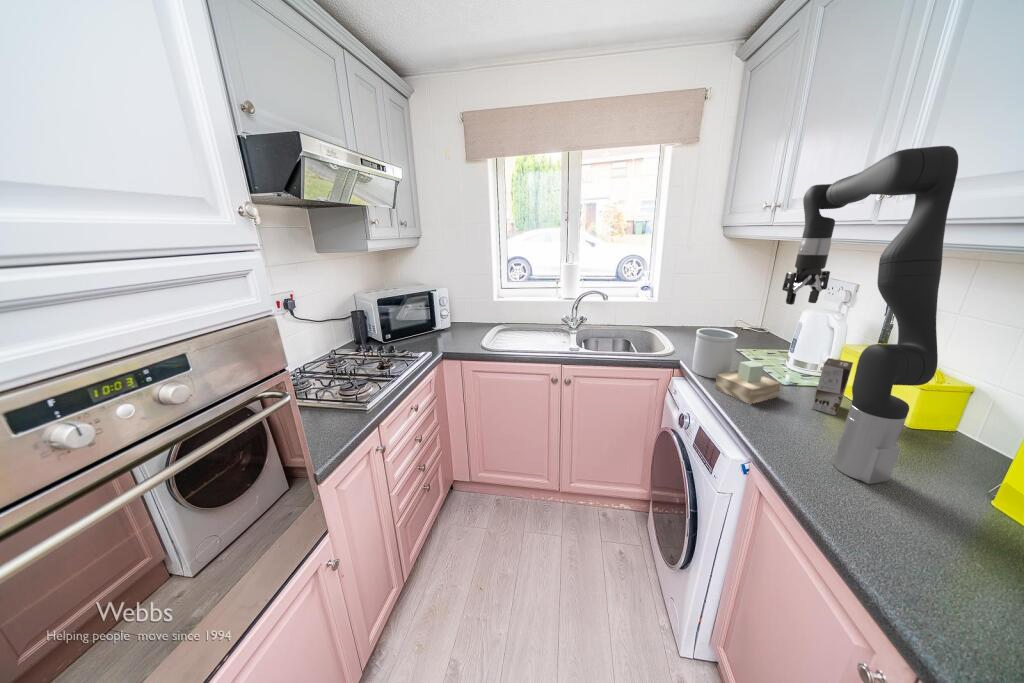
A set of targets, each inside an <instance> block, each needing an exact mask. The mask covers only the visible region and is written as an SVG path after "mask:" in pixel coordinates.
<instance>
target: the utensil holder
mask: <svg viewBox="0 0 1024 683" xmlns="http://www.w3.org/2000/svg"><path fill="white" fill-rule="evenodd" d="M695 334H696V338H695V344H694V349H693V350H694V351H693V356H692V359H693V360H692V364H691V370H692V372H693V373H694V374H696V375H698V376H701V377H705V378H709V379H716V377H717V375H718V374H723V373H727V372H731V371H730V370H731V367H732V364H733V363H732V362H733V358H734V353H735V349H736V346H737V345H736V344H737V340H738V339H739V335H738V334H737V333H735V331H734V332H733V331H731V330H728V329H722V328H715V327H713V328H712V327H704V328H702V327H701V328H699V329H697V330H696V333H695Z"/></svg>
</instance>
